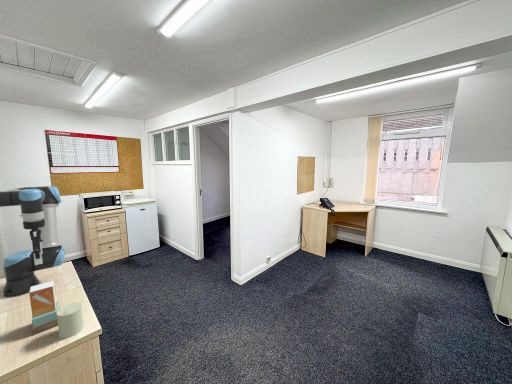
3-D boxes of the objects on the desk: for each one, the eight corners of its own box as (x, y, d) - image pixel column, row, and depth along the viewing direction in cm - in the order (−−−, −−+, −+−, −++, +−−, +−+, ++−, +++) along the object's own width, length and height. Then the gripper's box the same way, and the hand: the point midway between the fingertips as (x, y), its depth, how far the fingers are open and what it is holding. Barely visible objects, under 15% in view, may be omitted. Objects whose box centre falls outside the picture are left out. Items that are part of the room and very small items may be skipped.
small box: (32, 318, 98) (28, 292, 96) (33, 310, 103) (30, 286, 101) (56, 310, 103) (53, 285, 101) (56, 303, 108) (53, 280, 106)
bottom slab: (33, 324, 104) (32, 317, 104) (60, 314, 111) (59, 307, 111) (32, 336, 97) (31, 328, 97) (61, 325, 104) (61, 317, 104)
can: (54, 340, 95) (51, 317, 93) (63, 326, 103) (61, 304, 102) (80, 334, 99) (77, 311, 97) (86, 321, 107) (84, 299, 105)
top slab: (34, 317, 104) (33, 309, 103) (58, 308, 110) (58, 301, 110) (33, 327, 97) (32, 319, 97) (59, 318, 104) (58, 310, 103)
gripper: (24, 215, 111) (29, 252, 115) (20, 228, 94) (27, 271, 98) (44, 212, 116) (48, 248, 120) (44, 225, 99) (49, 266, 103)
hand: (39, 258), depth 109 cm, fingers open, 13 cm apart
